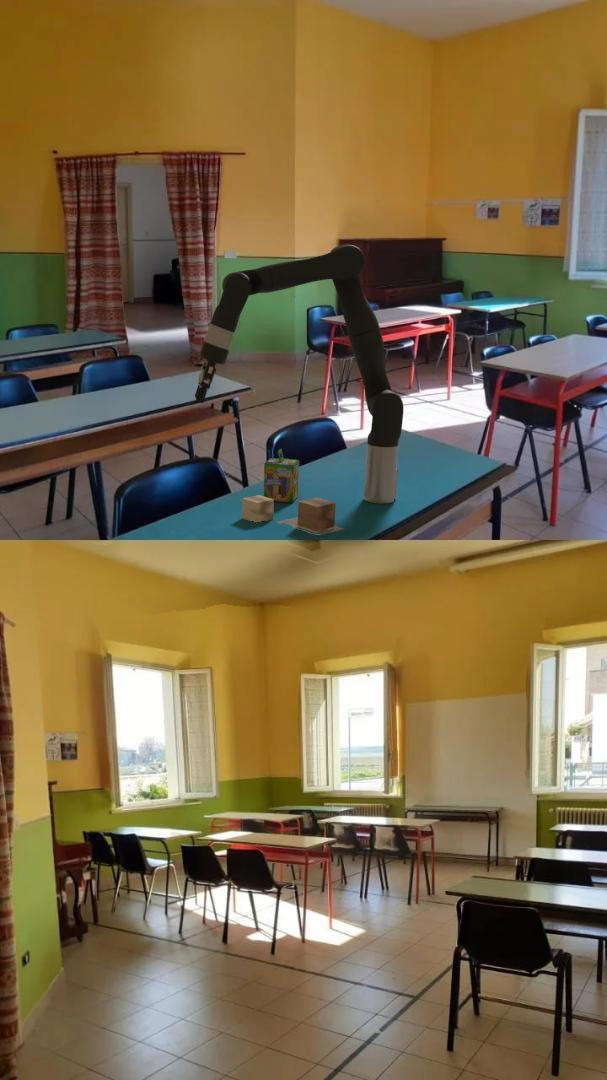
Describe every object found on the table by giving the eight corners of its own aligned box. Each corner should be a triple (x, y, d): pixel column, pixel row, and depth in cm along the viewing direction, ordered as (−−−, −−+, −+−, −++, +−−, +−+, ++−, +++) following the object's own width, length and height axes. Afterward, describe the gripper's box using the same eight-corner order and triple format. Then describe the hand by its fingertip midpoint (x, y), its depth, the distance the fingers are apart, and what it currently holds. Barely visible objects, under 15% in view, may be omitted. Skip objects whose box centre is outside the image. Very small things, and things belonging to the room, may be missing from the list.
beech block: (258, 515, 232) (259, 495, 230) (273, 520, 228) (273, 499, 226) (242, 519, 228) (242, 498, 226) (256, 524, 224) (257, 502, 222)
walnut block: (315, 522, 227) (316, 497, 225) (334, 528, 222) (335, 502, 220) (297, 526, 222) (298, 501, 220) (316, 533, 218) (317, 507, 215)
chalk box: (292, 503, 246) (294, 454, 241) (262, 500, 247) (264, 451, 243) (299, 496, 255) (301, 448, 250) (270, 493, 256) (271, 446, 252)
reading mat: (303, 516, 233) (303, 515, 233) (344, 529, 222) (344, 528, 222) (274, 522, 226) (274, 522, 226) (316, 536, 215) (316, 536, 215)
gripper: (231, 350, 223) (212, 407, 227) (228, 347, 237) (210, 401, 240) (205, 340, 222) (186, 398, 225) (203, 338, 235) (185, 393, 239)
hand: (198, 400), depth 233 cm, fingers open, 8 cm apart
